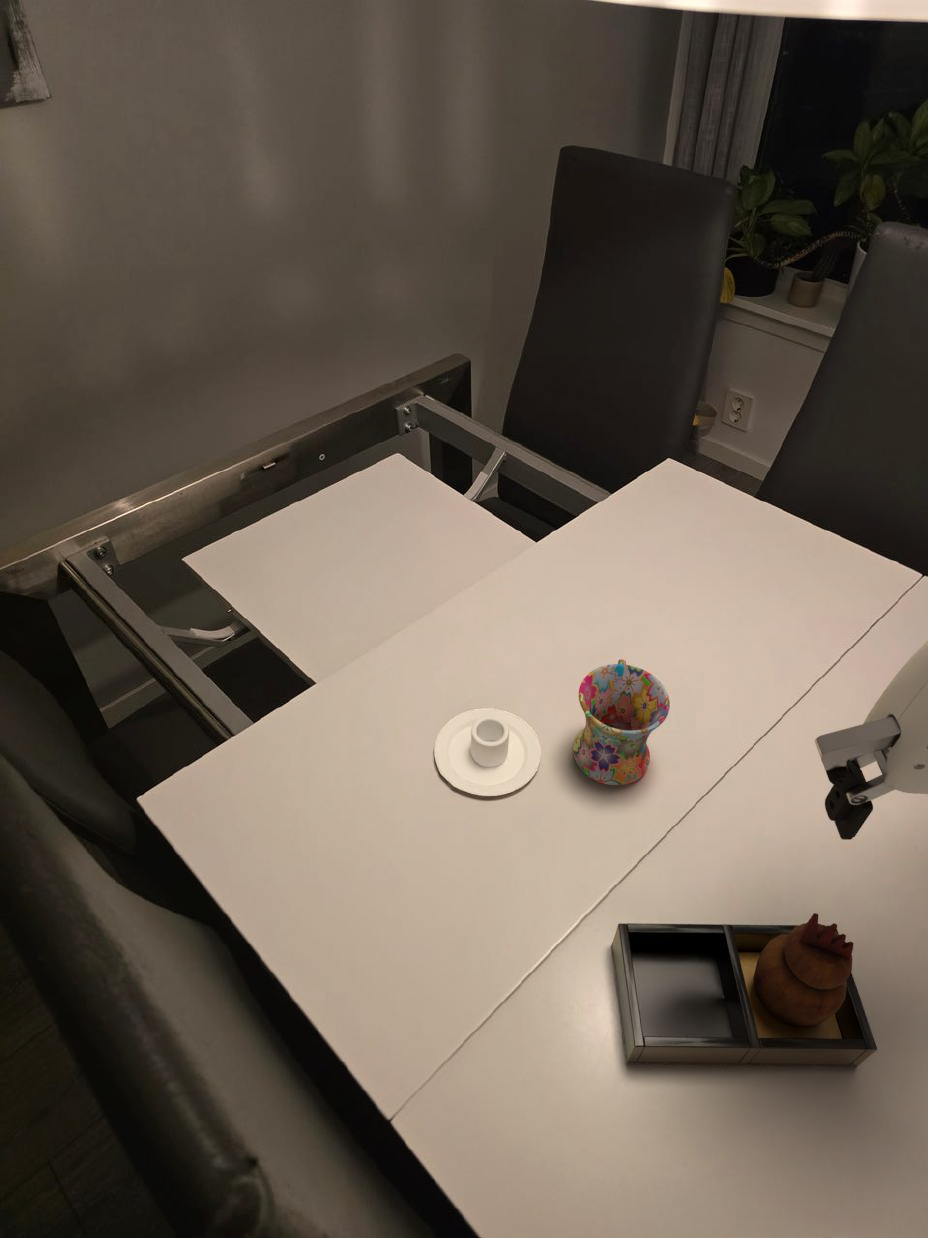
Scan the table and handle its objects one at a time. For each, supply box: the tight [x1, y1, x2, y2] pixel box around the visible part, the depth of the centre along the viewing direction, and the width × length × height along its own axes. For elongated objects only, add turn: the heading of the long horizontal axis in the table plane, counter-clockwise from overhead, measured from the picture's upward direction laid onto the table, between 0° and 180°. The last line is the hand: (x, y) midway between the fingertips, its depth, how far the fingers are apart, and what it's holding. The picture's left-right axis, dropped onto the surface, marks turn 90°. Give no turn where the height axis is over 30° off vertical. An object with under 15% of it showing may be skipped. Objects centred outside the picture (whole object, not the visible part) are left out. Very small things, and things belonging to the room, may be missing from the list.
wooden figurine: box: [753, 912, 854, 1028], centre depth 64 cm, size 7×6×15 cm
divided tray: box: [610, 922, 878, 1068], centre depth 68 cm, size 19×10×5 cm, turn 89°
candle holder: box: [433, 707, 542, 797], centre depth 87 cm, size 12×12×4 cm
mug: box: [572, 658, 671, 786], centre depth 85 cm, size 12×9×11 cm
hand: (912, 819), depth 51 cm, fingers open, 9 cm apart
